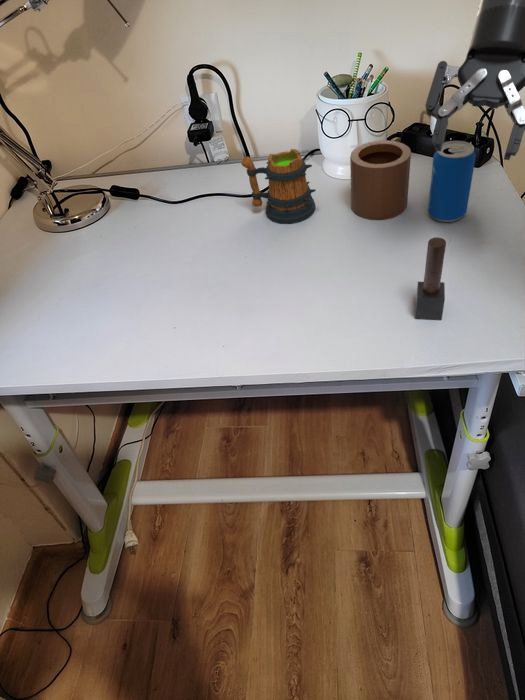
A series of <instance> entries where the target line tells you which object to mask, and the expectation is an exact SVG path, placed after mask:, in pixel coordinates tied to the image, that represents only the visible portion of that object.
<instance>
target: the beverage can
mask: <svg viewBox="0 0 525 700" xmlns="http://www.w3.org/2000/svg"><path fill="white" fill-rule="evenodd" d="M476 156H477V155H476V151H475V146H474V145H473V144H472V143H470V142H469V141H468V142H467V141H464V140H449V141H446V142H443V146H442V149H441V151H435V152H434V154H433V157H432V165H431V175H430V185H429V196H428V205H427V213H428V215H429V216H430V217H432V218H433V219H434V220H436V221H438V222H442V223H452V222H455V221H458V220H460V219H461V218H463V217H464V216H465V215H466V214H467V213H468V206H469V199H470V192H471V188H472V187H471V186H472V180H473V176H474V175H473V174H474V170H475V164H476V163H475V162H476Z"/></svg>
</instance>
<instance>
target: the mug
mask: <svg viewBox="0 0 525 700" xmlns="http://www.w3.org/2000/svg"><path fill="white" fill-rule="evenodd" d="M306 159H307V158H306V157H304V158H303V156H302V155H301V152H300V151H299V150H297V149H296V148H290V151H281V152H278V153H276V154H274V153H270V154H269V155H268V158H267V161H266V164H267V165H266V167H258V168H256V166H255V164H254V162H253V160H252V158H251V157H250V156H245V157H244V158H243V159H242V160H241V162H240V164H241V166H242V167H244V168H245V169H246V174H247V176H248V179H249V185H250V188H251V190H252V192H251V197H252V201H251V204H252V206H253V207H258V208H259V207H262V205H263V200H262V198H263V199H267V202H266V206H265V214H266V217H267V219H269V220H270V221H271V222H273V223H276V224H280V225H292V224H297V223H301V222H303V221H306V220H307V219H309V218H311V217H312V216H313V215H314V213H315V211H316V202H315V199H314V198H313V197H312V196H313V195H312V193H315V192H316V189H314V188H313V189H311V187H310V186H309V185H310V181H307V173H306V172H307V170H308V169H309V168H312V167H313V164H307V163H306V162H305V161H306ZM258 174H263V175H266V177H265V178H264V180H268V186H267V187H268V190H267V192H262V190H260V187H259V183H258V179H257V175H258Z"/></svg>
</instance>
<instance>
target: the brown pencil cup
mask: <svg viewBox="0 0 525 700" xmlns="http://www.w3.org/2000/svg"><path fill="white" fill-rule="evenodd" d="M411 157H412V150H411V148H410V147H409V146H408V145H406V144H405V143H403V142H399V141H396V140H388V139H387V140H386V139H385V140H384V139H382V140H373V141H368V142H366V143H362V144H360V145H358V146H356V147H355V148H354V149H353V150H352V151H351V152H350V157H349V159H350V160H349V161H350V163H349V164H350V165H349V166H350V205H351V207H350V208H351V210H352V212H353V213H354V214H355V215H356V216H358V217H360V218H363V219H367V220H370V221H371V220H373V221H382V220H383V221H384V220H388V219H393V218H395V217H398V216H400V215H401V214H402V213H404V212H405V210H406V209H407V207H408V201H409V199H408V198H409V186H410V175H411V174H410V171H411V161H412V160H411Z"/></svg>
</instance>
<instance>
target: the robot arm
mask: <svg viewBox="0 0 525 700" xmlns="http://www.w3.org/2000/svg"><path fill="white" fill-rule="evenodd" d="M455 78H457V81H458V83H459V85H460V87H459V88H458V89H457V90H456V91H455V92H453V94H452V95H451V97H450V98H449V99H448V100H447V101H446V102H445V103H444V104H443V105H440V104H439V103H440V100H441V96H442V93H443V90H444V87H445V86H448V85H450V84H451V82H452V80H453V79H455ZM524 87H525V0H480V2H479V5H478V10H477V13H476V18H475V21H474V24H473V29H472V32H471V37H470V40H469V45H468V48H467V51H466V56H465V59H464V61H463V63H462V64H461V65H460V66H456V65H448V63H447V61H445V60H441V61H439V62H438V63H437V66H436V69H435V73H434V75H433V79H432V82H431V86H430V88H429V91H428V95H427V98H426V101H425V105H424V107H425V111H426V115H427V116H429V117H433V118H435V120H436V121H435V123H434V128H433V132H432V135H431V136H432V137H431V143H432V146H433V147H434V151H435V152H436V151H441V149H442V146H443V143H445V142H444V141H445V138H446V134H447V131H448V130H447V129H448V127H449V126H448V125H449V119H451V117H453V116H454V115H455V114H456V113H458V112H459V111H460V110H462V109H463V108H464V107H465V106H466V105H467V104H468V103H469V105H471V106H472V107H484V106H485V107H488V108H490V109H498V108H501V107H503V106H504V109H505V111H506V113H507V115H508V116H509V117H510V120H511V121H512V124H513V126H512V128H511V132H510V134H509V138H508V141H507V146H506V149H505V152H504V155H503V156H504V157H503V160H505V161H510V159H511V157H515V156H517V154H518V152H519V150H520V147H521V143H522V139H523V136H524V132H525V108H524V106H523V102H522V99H521V96H520V94H519V92H520V91H521V90H523V88H524Z"/></svg>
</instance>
